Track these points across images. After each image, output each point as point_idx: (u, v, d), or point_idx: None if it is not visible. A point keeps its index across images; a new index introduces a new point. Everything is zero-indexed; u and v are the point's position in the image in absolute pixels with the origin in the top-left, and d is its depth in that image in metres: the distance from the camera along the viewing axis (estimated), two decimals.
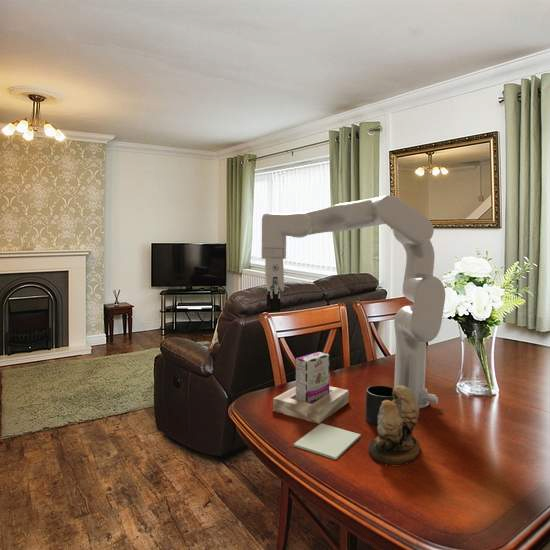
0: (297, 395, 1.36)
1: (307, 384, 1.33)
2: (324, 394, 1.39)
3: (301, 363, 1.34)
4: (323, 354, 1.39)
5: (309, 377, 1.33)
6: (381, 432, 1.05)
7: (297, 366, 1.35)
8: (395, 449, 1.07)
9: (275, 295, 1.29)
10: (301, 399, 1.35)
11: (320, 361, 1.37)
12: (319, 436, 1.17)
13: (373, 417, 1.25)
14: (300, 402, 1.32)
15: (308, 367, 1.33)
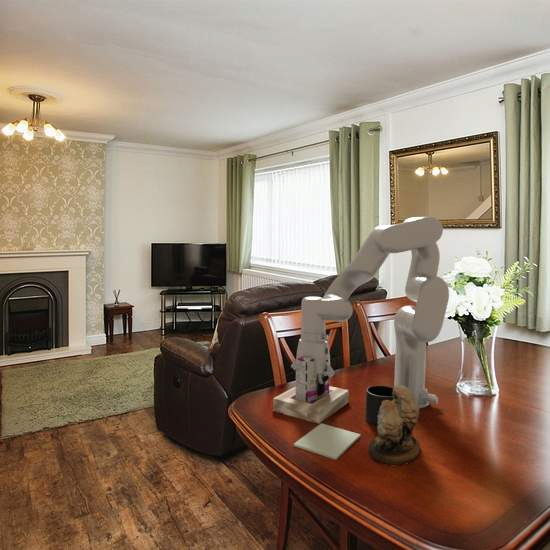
0: (297, 395, 1.36)
1: (307, 384, 1.33)
2: (324, 394, 1.39)
3: (301, 363, 1.34)
4: None
5: (309, 377, 1.33)
6: (381, 432, 1.05)
7: (297, 366, 1.35)
8: (395, 449, 1.07)
9: (327, 379, 1.35)
10: (301, 399, 1.35)
11: None
12: (319, 436, 1.17)
13: (373, 417, 1.25)
14: (300, 402, 1.32)
15: (308, 367, 1.33)
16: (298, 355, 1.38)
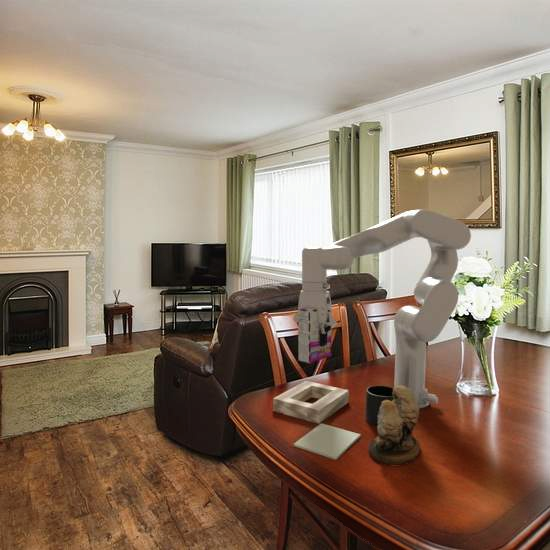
0: (300, 346, 1.34)
1: (310, 334, 1.32)
2: (326, 346, 1.38)
3: (304, 313, 1.32)
4: None
5: (312, 327, 1.32)
6: (381, 432, 1.05)
7: (299, 317, 1.34)
8: (395, 449, 1.07)
9: (329, 329, 1.34)
10: (304, 350, 1.33)
11: None
12: (319, 436, 1.17)
13: (373, 417, 1.25)
14: (300, 402, 1.32)
15: (311, 317, 1.31)
16: (300, 306, 1.36)
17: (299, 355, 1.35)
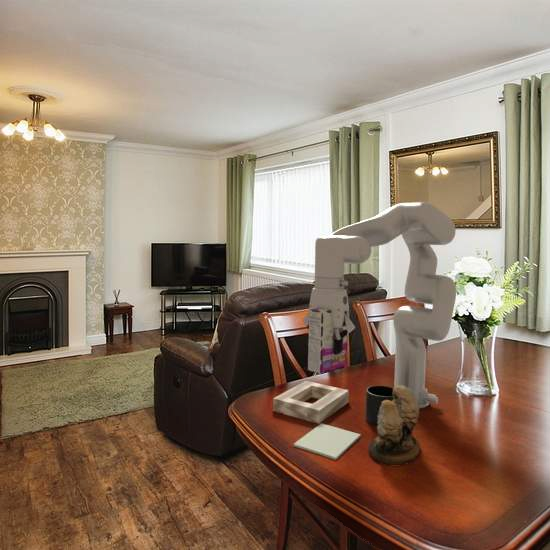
0: (310, 354, 1.14)
1: (323, 340, 1.11)
2: (341, 354, 1.17)
3: (316, 314, 1.11)
4: None
5: (325, 332, 1.11)
6: (381, 432, 1.05)
7: (310, 319, 1.13)
8: (395, 449, 1.07)
9: (345, 335, 1.13)
10: (314, 358, 1.13)
11: None
12: (319, 436, 1.17)
13: (373, 417, 1.25)
14: (300, 402, 1.32)
15: (324, 319, 1.11)
16: (311, 307, 1.16)
17: (309, 364, 1.14)
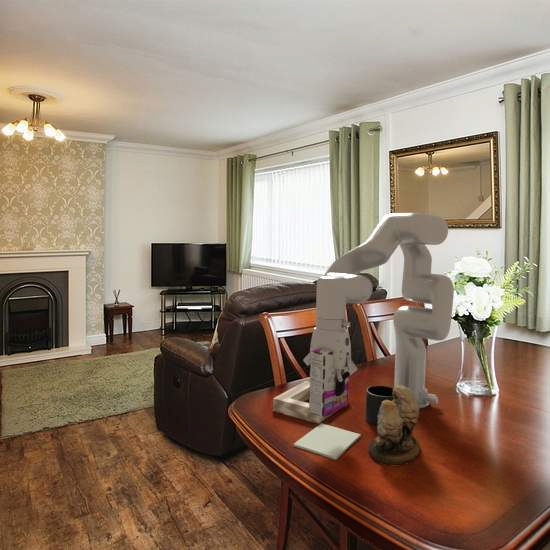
0: (311, 396, 1.12)
1: (325, 383, 1.09)
2: (343, 394, 1.15)
3: (317, 356, 1.09)
4: None
5: (327, 374, 1.09)
6: (381, 432, 1.05)
7: (312, 360, 1.11)
8: (395, 449, 1.07)
9: (347, 376, 1.11)
10: (316, 401, 1.11)
11: None
12: (319, 436, 1.17)
13: (373, 417, 1.25)
14: (300, 402, 1.32)
15: (326, 362, 1.09)
16: (312, 347, 1.14)
17: (310, 406, 1.12)
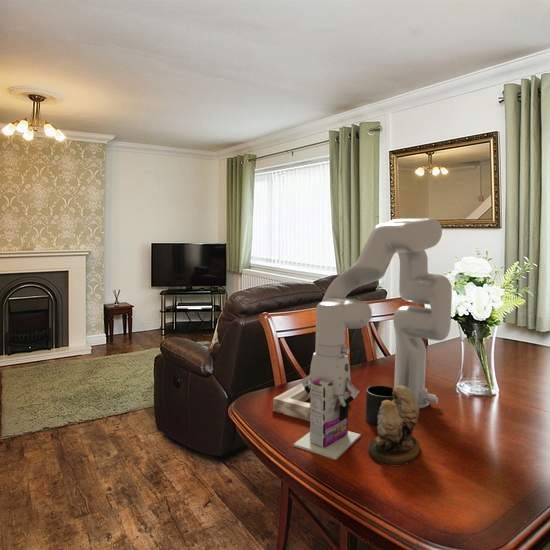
0: (312, 426, 1.13)
1: (325, 414, 1.10)
2: (343, 423, 1.16)
3: (317, 388, 1.10)
4: None
5: (327, 405, 1.10)
6: (381, 432, 1.05)
7: (312, 392, 1.12)
8: (395, 449, 1.07)
9: (350, 401, 1.11)
10: (317, 432, 1.12)
11: None
12: None
13: (373, 417, 1.25)
14: (300, 402, 1.32)
15: (326, 393, 1.10)
16: (312, 372, 1.14)
17: (311, 436, 1.13)
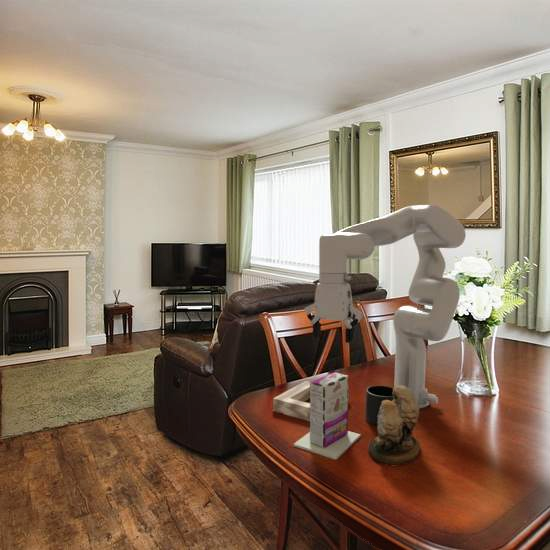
0: (312, 426, 1.13)
1: (325, 414, 1.10)
2: (343, 423, 1.16)
3: (317, 388, 1.10)
4: (341, 375, 1.17)
5: (327, 405, 1.10)
6: (381, 432, 1.05)
7: (312, 392, 1.12)
8: (395, 449, 1.07)
9: (356, 324, 1.18)
10: (317, 432, 1.12)
11: (339, 385, 1.14)
12: None
13: (373, 417, 1.25)
14: (300, 402, 1.32)
15: (326, 393, 1.10)
16: (316, 301, 1.22)
17: (311, 436, 1.13)
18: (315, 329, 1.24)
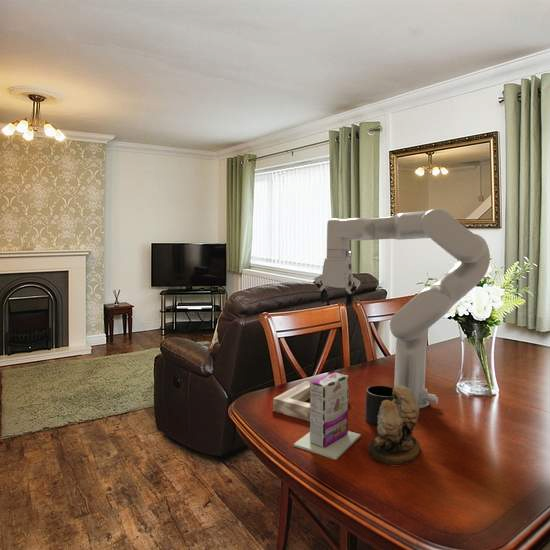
0: (312, 426, 1.13)
1: (325, 414, 1.10)
2: (343, 423, 1.16)
3: (317, 388, 1.10)
4: (341, 375, 1.16)
5: (327, 405, 1.10)
6: (381, 432, 1.05)
7: (312, 392, 1.12)
8: (395, 449, 1.07)
9: (355, 290, 1.49)
10: (317, 432, 1.12)
11: (339, 385, 1.14)
12: None
13: (373, 417, 1.25)
14: (300, 402, 1.32)
15: (326, 393, 1.10)
16: (324, 272, 1.53)
17: (311, 436, 1.13)
18: (322, 295, 1.55)
